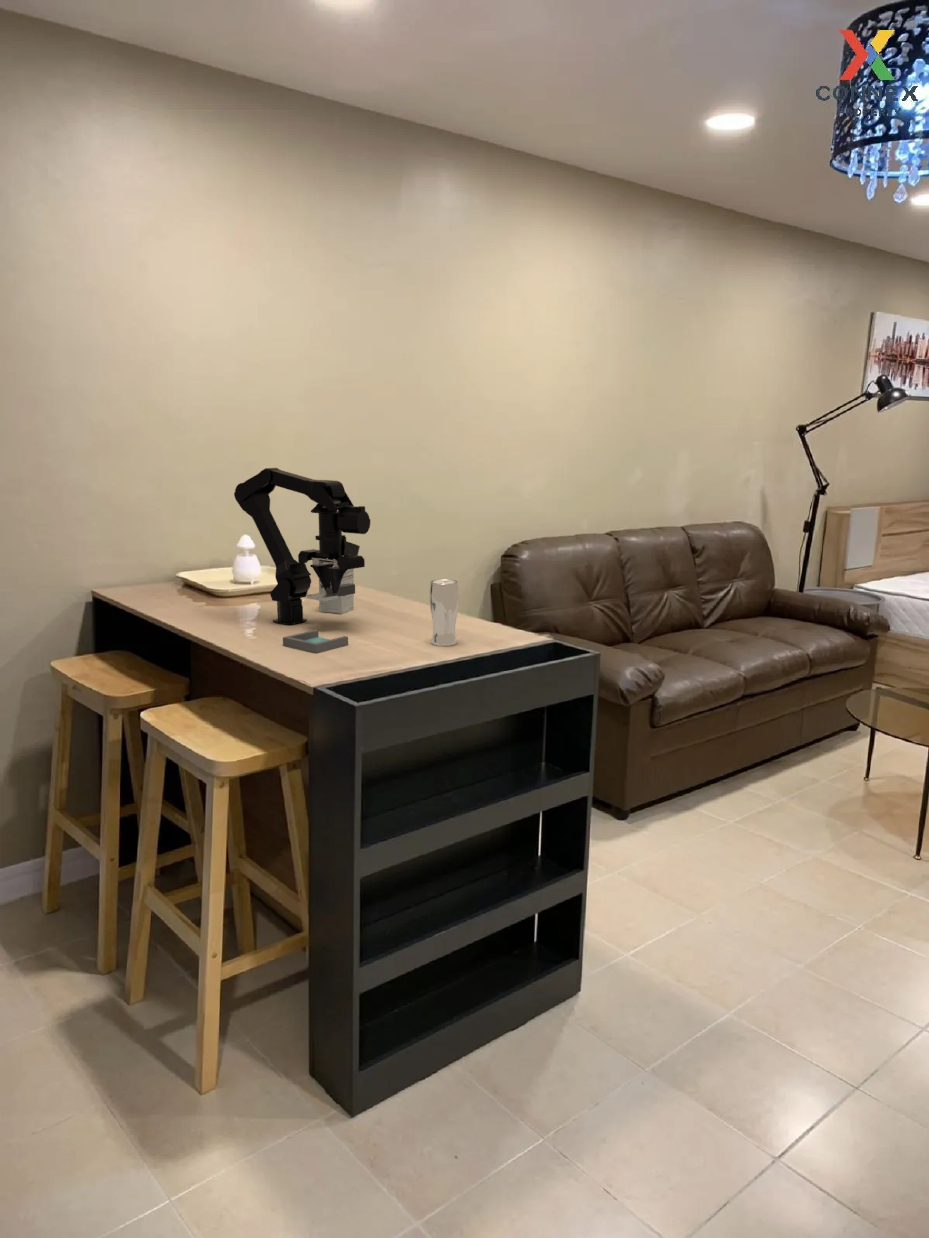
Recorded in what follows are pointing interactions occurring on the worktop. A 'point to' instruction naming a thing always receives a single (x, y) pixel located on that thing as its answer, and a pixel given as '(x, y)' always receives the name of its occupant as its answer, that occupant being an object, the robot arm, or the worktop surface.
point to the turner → (329, 595)
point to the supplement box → (342, 602)
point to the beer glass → (444, 611)
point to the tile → (317, 640)
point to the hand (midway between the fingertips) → (331, 592)
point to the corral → (300, 643)
